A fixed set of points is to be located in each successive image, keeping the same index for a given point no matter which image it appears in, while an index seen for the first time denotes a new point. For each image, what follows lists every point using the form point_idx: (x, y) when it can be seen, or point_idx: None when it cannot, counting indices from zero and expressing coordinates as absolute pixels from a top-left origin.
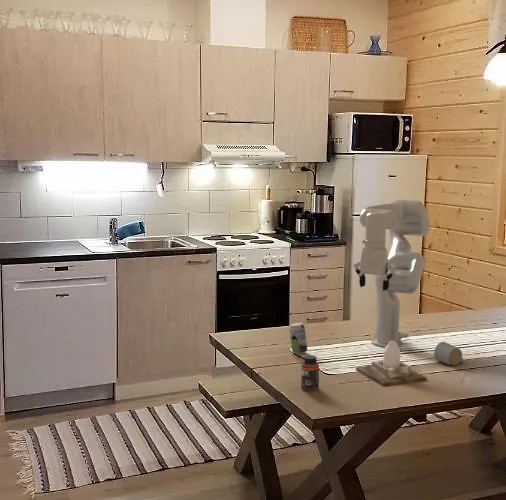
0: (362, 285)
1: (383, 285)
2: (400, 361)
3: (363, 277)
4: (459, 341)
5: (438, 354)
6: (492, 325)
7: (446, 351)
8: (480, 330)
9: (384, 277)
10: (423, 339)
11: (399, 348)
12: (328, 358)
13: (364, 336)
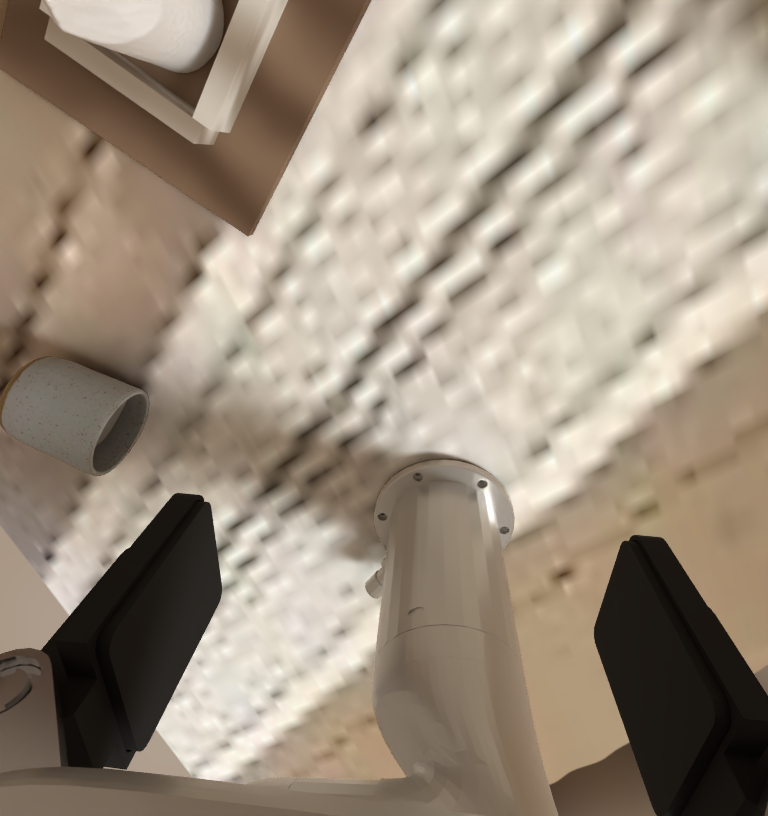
0: (625, 574)
1: (148, 551)
2: (146, 107)
3: (686, 754)
4: (226, 647)
5: (102, 383)
6: None
7: (43, 384)
8: (237, 758)
9: (8, 730)
10: (338, 619)
11: (51, 15)
12: (639, 89)
13: (567, 556)
